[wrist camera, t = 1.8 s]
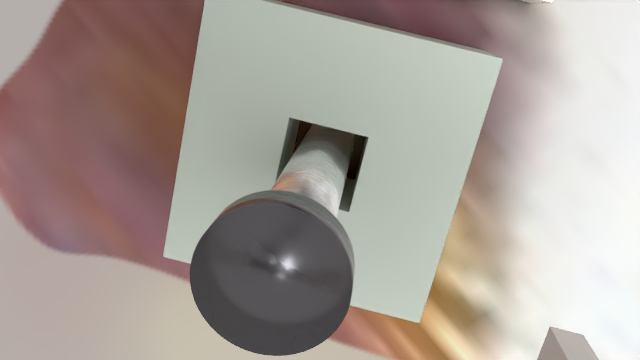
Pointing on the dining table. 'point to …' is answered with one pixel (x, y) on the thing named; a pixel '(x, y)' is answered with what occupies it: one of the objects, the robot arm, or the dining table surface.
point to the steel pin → (281, 255)
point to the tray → (538, 1)
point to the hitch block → (339, 113)
